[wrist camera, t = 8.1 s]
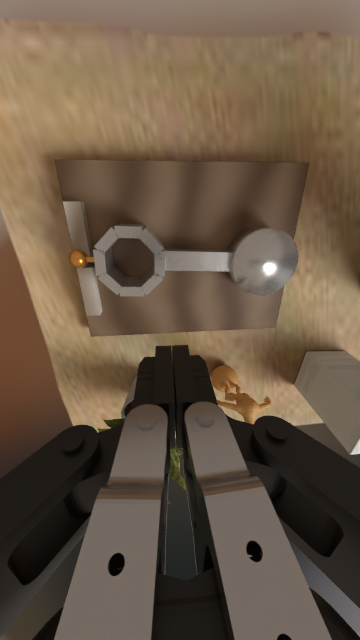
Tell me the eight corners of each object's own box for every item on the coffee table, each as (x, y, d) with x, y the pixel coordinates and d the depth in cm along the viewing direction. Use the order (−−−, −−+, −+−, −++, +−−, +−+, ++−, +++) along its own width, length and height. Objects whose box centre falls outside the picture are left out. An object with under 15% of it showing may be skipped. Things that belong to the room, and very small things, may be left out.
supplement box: (292, 385, 39) (347, 456, 28) (305, 349, 36) (374, 413, 25) (331, 385, 40) (400, 453, 29) (347, 350, 37) (432, 411, 26)
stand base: (298, 166, 25) (317, 160, 22) (269, 321, 33) (280, 331, 30) (62, 163, 23) (48, 156, 20) (94, 329, 31) (88, 341, 28)
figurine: (193, 379, 36) (209, 449, 26) (199, 348, 34) (218, 411, 23) (242, 380, 38) (277, 448, 27) (251, 350, 35) (293, 411, 24)
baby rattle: (290, 228, 25) (312, 230, 22) (276, 287, 28) (293, 299, 25) (70, 219, 23) (54, 221, 19) (81, 286, 26) (68, 297, 22)
